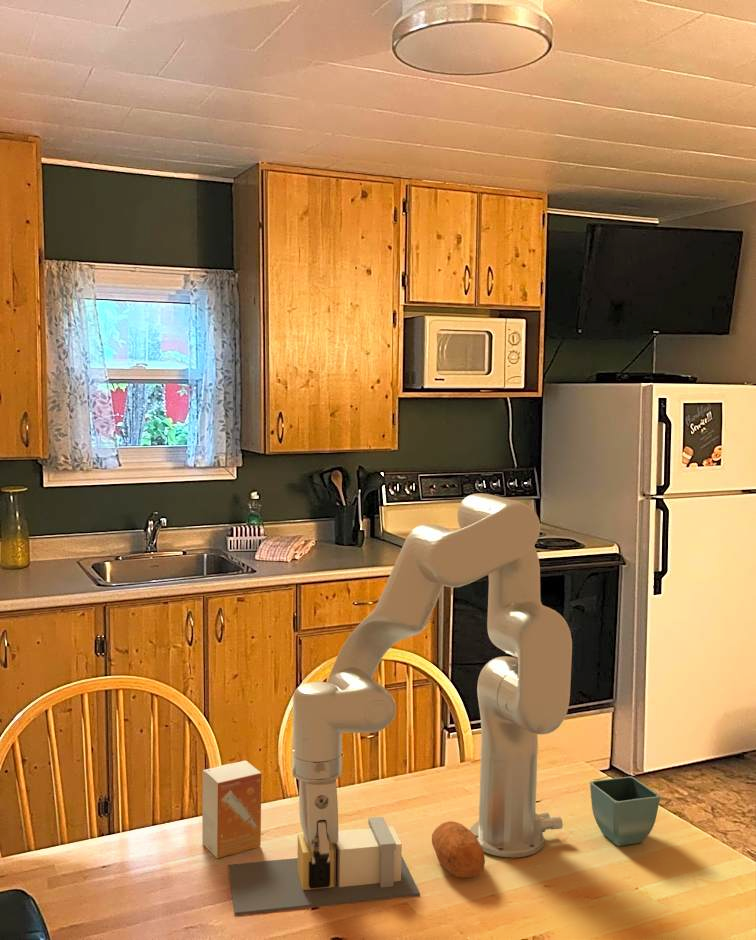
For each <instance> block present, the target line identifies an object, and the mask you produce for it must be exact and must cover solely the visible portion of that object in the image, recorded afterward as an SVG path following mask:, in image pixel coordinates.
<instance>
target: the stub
mask: <svg viewBox="0 0 756 940" xmlns="http://www.w3.org/2000/svg"><path fill="white" fill-rule="evenodd" d="M313 841H314V842H318V838H314V839H313ZM318 850H319V847H315V854H316V852H318ZM329 853H330V886H329V887H336V848H335V845H334V843H331V841H330V838H329ZM297 858H298V868H297V870H298V874H299V878H300V882H301V885H302V889H303V890H310V889H320V888H310V887H309V862H311V850H310V845H308V844H307V842H306V839H305V836H304V834H303V833H298V834H297ZM329 887H321V888H329Z"/></svg>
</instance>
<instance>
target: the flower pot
mask: <svg viewBox="0 0 756 940" xmlns="http://www.w3.org/2000/svg"><path fill="white" fill-rule="evenodd" d="M589 785H590V786H589V787H590V789H589V790H590V799H591V802H590V803H591V809H592V813H593V818H594V821H595V822H596V824H597V826H598V828H599V830H600V832H601V834H602V835H604V836H605V838H607V839H608V840H609V841H611V842H612V843H613V844H614V845H616V846H618V847H621V846H626V845H634V844H641V843H642V842H644V841H645V840H646V839H647V837H648V836H649V835H650V834H651V832H652V830H653V828H654V826H655V823H656V819H657V815H658V810H659V805H660V799H661V795H659V793H656V792H655V791H654V790H653V789H651V788H650V787H648V786H646V785H645V784H643V783H642V782H641V781H639V779H637V778H635V777H634V776H631V775H630V776H623V777H615V778H607V779H606V778H605V779H598V780H591V781H589Z"/></svg>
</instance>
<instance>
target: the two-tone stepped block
mask: <svg viewBox="0 0 756 940" xmlns="http://www.w3.org/2000/svg"><path fill="white" fill-rule="evenodd" d="M367 822H368V823H367V824H368V826H369V828H367V827H366V828H357V829H356V828H355V829H347V830H346V829H344V830H338V833H339V841H338V843H337V844H334V845H335V848H336V884H337V887H345V886H355V885H365V884H374V883H379V884H380V886H381V887H390V886H394V881H401V855H402V848H403V847H402V842H401V840H400V838H399V836H398V834H397V832H396V830H395V828H394V826H393V825H390V826H388V824H387V822H386V820H385V818H384V816H377V817H376V816H375V817H368V821H367Z"/></svg>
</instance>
